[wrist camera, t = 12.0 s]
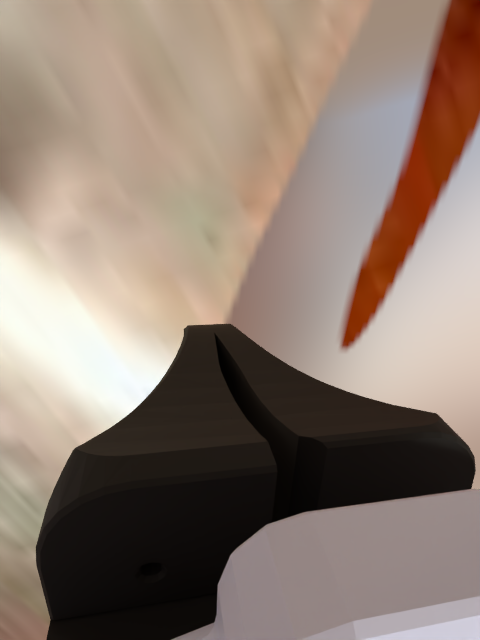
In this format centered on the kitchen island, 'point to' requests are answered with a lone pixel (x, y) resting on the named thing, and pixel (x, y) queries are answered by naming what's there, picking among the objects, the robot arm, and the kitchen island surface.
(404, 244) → the kitchen island surface
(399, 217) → the kitchen island surface
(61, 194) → the kitchen island surface
